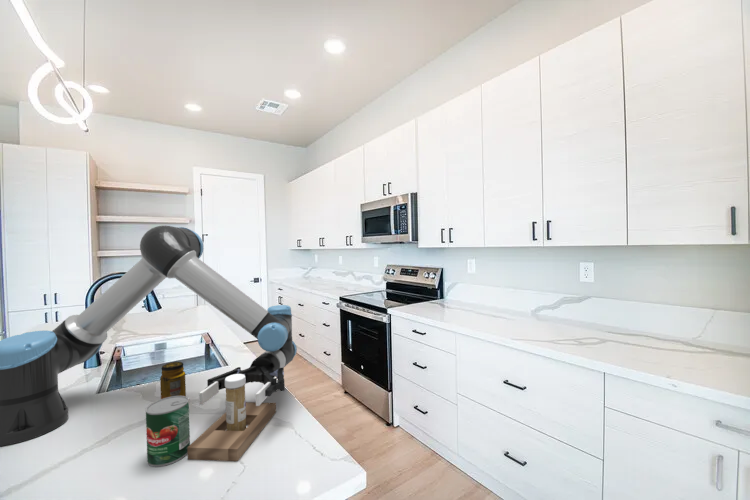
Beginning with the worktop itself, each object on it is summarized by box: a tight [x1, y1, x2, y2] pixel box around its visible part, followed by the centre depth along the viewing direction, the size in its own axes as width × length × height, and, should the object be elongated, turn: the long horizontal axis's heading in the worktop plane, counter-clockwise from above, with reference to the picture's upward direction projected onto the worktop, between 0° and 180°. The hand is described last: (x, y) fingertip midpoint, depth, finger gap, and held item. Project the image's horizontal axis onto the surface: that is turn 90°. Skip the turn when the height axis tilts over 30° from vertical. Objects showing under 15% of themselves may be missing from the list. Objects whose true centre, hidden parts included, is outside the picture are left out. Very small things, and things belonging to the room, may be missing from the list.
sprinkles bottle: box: [224, 374, 247, 431], centre depth 78 cm, size 5×5×13 cm
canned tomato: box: [145, 395, 191, 468], centre depth 70 cm, size 8×8×11 cm
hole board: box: [187, 401, 277, 462], centre depth 78 cm, size 11×20×2 cm, turn 174°
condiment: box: [159, 361, 191, 401], centre depth 91 cm, size 7×8×12 cm
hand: (228, 399), depth 75 cm, fingers open, 13 cm apart
